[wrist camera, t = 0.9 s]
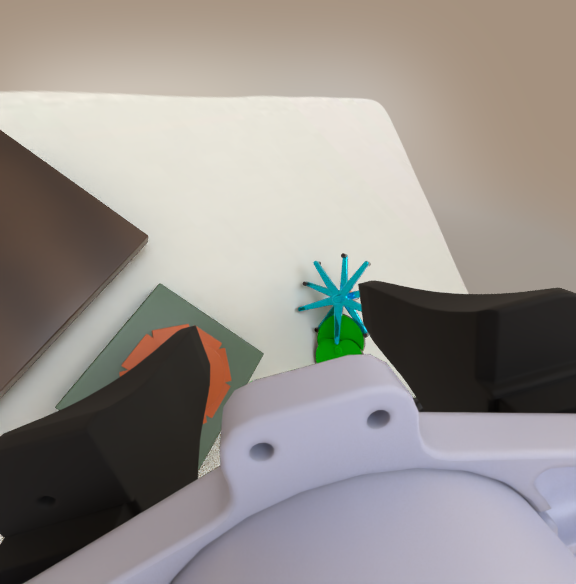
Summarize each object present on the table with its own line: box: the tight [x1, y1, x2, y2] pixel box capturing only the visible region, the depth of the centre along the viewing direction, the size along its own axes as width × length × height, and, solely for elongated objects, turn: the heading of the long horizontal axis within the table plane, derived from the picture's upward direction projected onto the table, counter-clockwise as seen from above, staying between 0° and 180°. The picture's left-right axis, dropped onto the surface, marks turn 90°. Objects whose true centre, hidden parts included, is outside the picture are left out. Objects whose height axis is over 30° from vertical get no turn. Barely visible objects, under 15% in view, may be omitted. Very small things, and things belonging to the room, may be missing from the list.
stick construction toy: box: [298, 254, 370, 363], centre depth 29 cm, size 12×7×8 cm
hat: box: [119, 324, 231, 424], centre depth 18 cm, size 7×7×4 cm
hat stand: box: [55, 284, 263, 470], centre depth 20 cm, size 10×10×6 cm
